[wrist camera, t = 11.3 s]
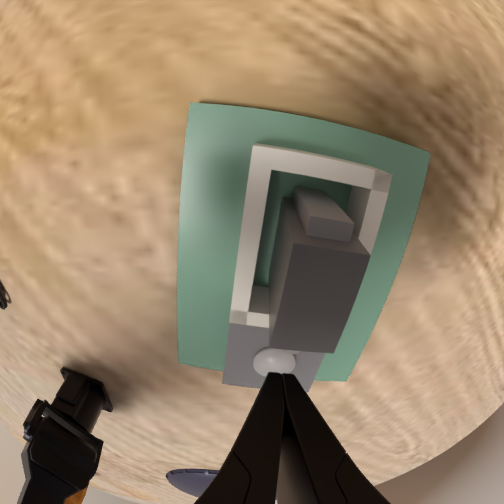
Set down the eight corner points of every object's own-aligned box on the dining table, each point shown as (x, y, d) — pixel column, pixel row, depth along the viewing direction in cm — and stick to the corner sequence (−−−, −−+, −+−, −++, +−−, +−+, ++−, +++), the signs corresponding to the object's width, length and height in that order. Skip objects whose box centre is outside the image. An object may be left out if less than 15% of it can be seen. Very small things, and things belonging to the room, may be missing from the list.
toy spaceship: (313, 469, 36) (314, 484, 33) (294, 499, 46) (294, 509, 43) (153, 457, 37) (149, 471, 34) (178, 490, 47) (176, 501, 44)
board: (343, 369, 24) (352, 406, 20) (182, 351, 24) (170, 389, 20) (419, 150, 16) (457, 159, 12) (196, 104, 15) (173, 97, 11)
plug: (307, 298, 19) (323, 375, 13) (264, 293, 19) (263, 371, 12) (334, 192, 16) (377, 235, 9) (284, 183, 16) (297, 221, 9)
